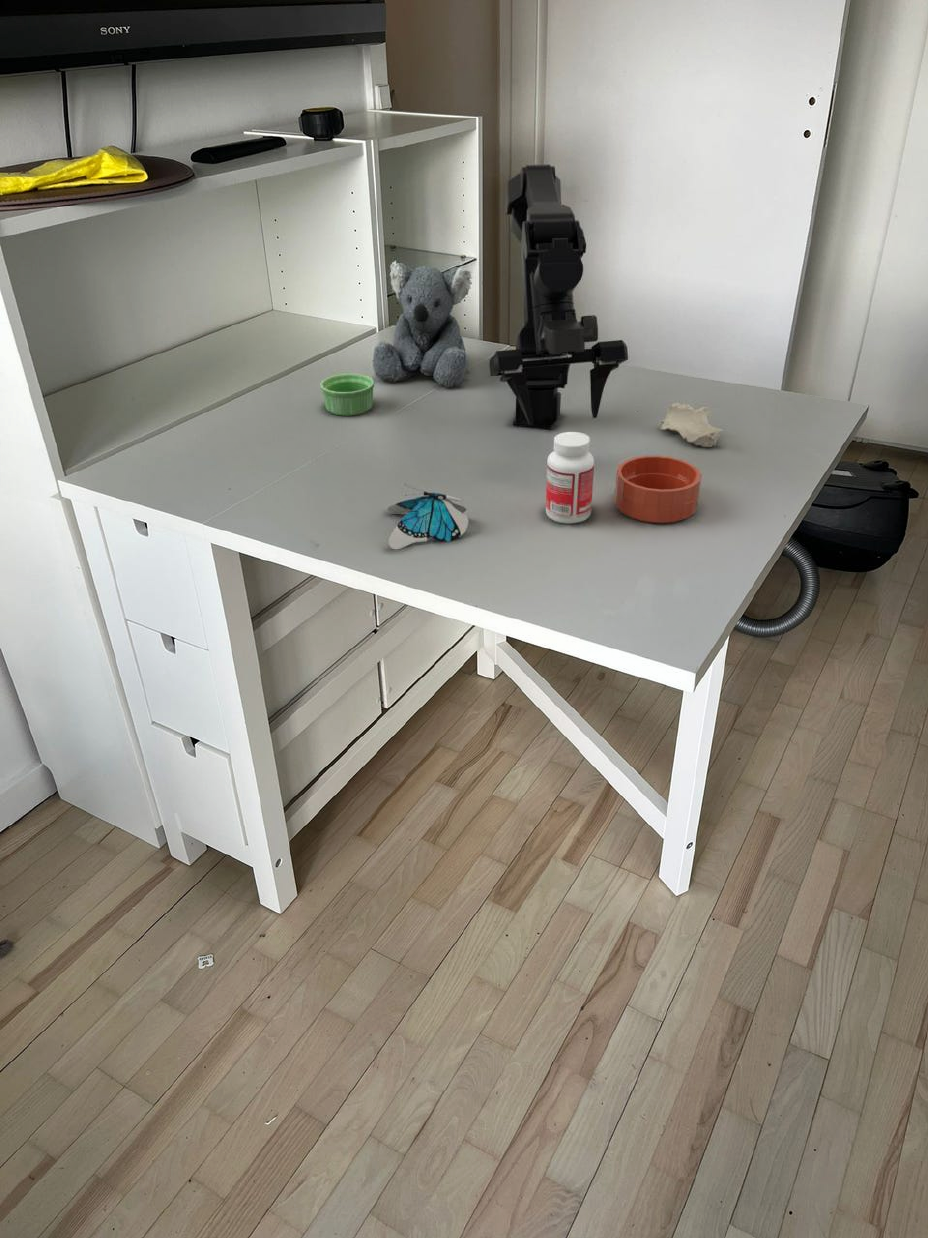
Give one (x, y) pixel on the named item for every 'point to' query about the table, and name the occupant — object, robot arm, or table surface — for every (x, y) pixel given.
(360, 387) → the ramekin
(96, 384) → the table surface
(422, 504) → the decorative butterfly
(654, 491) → the bowl
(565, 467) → the pill bottle
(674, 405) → the coral
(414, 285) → the koala plush
